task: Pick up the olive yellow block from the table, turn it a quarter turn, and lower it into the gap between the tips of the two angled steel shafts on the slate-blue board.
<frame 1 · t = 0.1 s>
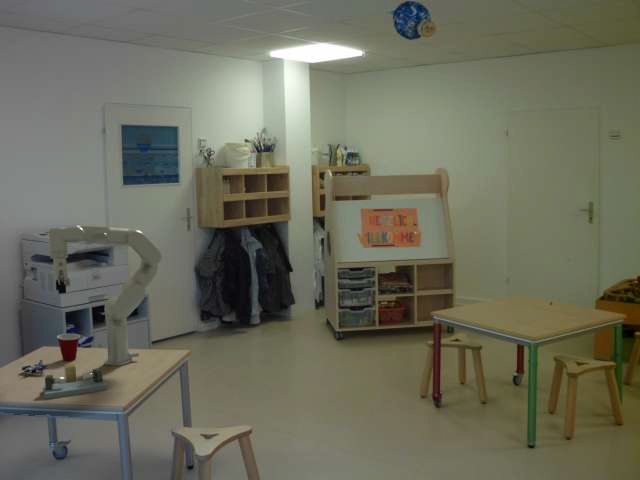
hand: (61, 291, 314), 37 cm above the table, tool pointing down, fingers open, 9 cm apart
board: (74, 390, 288), on the table
shaft 2: (83, 389, 289), resting on board
shaft 1: (66, 391, 286), resting on board
plastic cup: (70, 360, 335), on the table
olive yellow block: (70, 381, 300), on the table
toy airplane: (32, 374, 312), on the table
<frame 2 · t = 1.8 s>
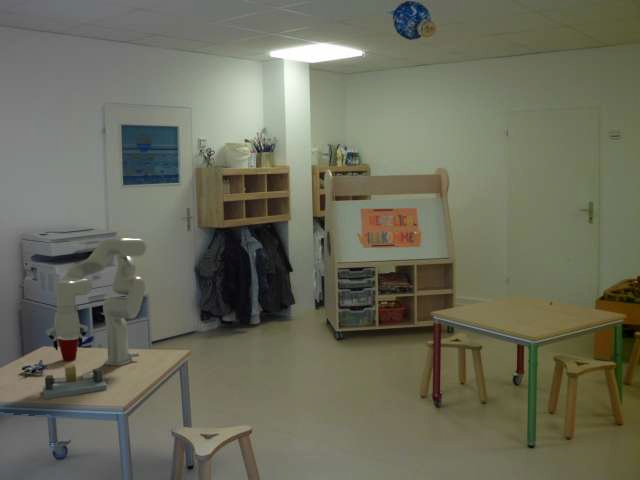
hand: (68, 348, 298), 15 cm above the table, tool pointing down, fingers open, 9 cm apart
nothing on the table moved.
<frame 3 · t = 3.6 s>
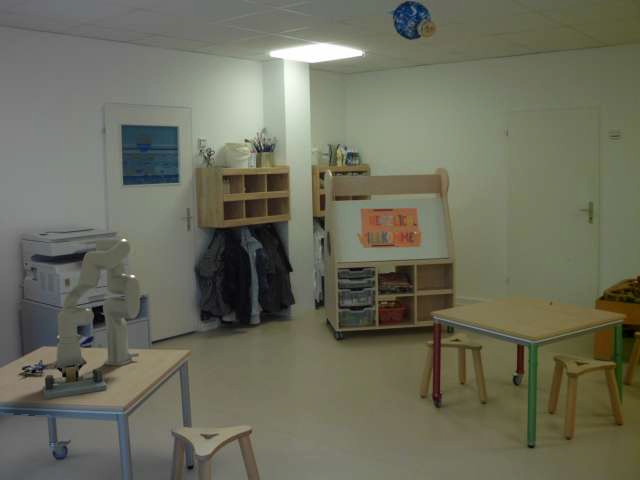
hand: (70, 380, 300), 1 cm above the table, tool pointing down, fingers closed on olive yellow block, 4 cm apart
olive yellow block: (70, 381, 300), on the table, touching gripper
everything else where it was.
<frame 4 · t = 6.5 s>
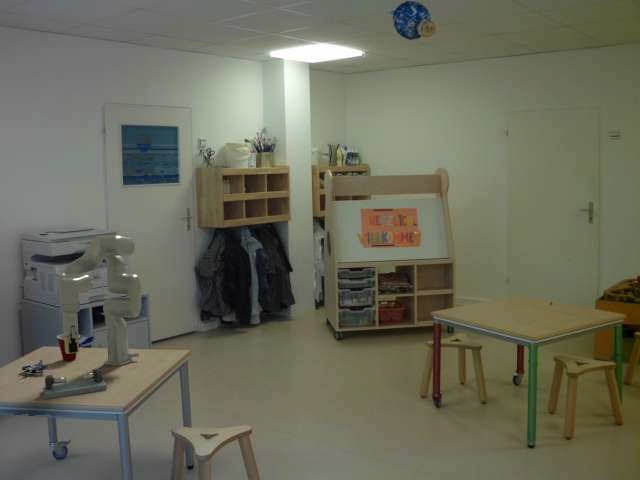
hand: (72, 350, 286), 17 cm above the table, tool pointing down, fingers closed on olive yellow block, 4 cm apart
olive yellow block: (72, 351, 286), point 17 cm above the table, touching gripper
everything else where it was.
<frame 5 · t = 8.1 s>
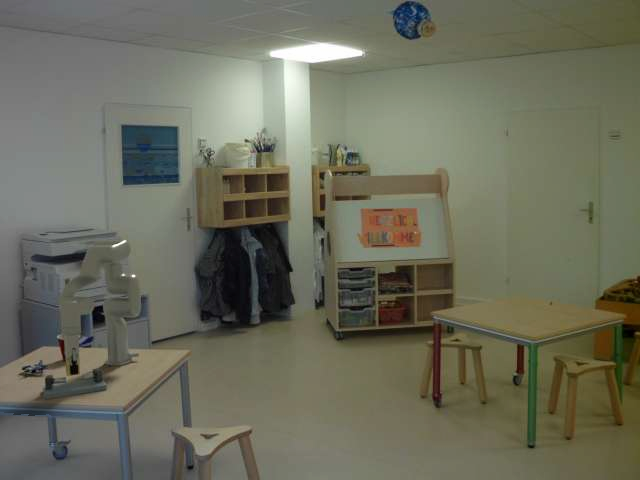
hand: (73, 372, 287), 8 cm above the table, tool pointing down, fingers closed on olive yellow block, 4 cm apart
olive yellow block: (73, 374, 287), point 7 cm above the table, touching gripper
everything else where it was.
when the fingers open (3 cm above the table, at t = 9.3 s): olive yellow block stays where it is, resting on board.
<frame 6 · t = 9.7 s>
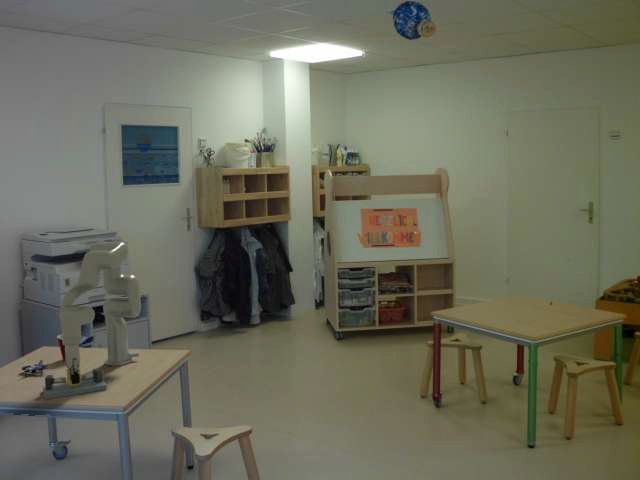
hand: (74, 380, 287), 4 cm above the table, tool pointing down, fingers open, 8 cm apart
olive yellow block: (74, 385, 288), point 2 cm above the table, touching board
everything else where it was.
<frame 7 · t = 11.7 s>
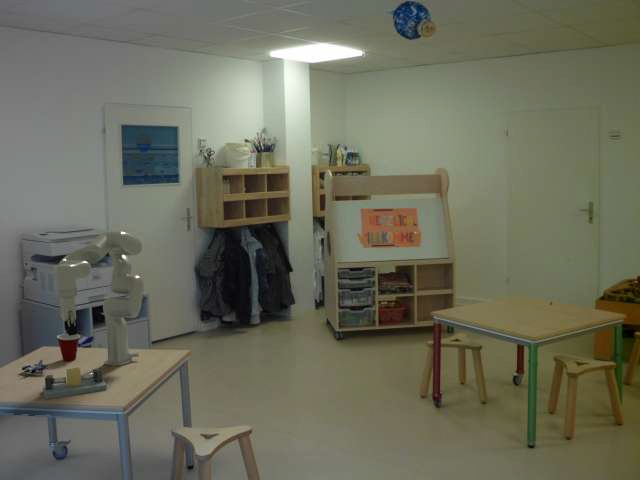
hand: (70, 332, 293), 23 cm above the table, tool pointing down, fingers open, 9 cm apart
nothing on the table moved.
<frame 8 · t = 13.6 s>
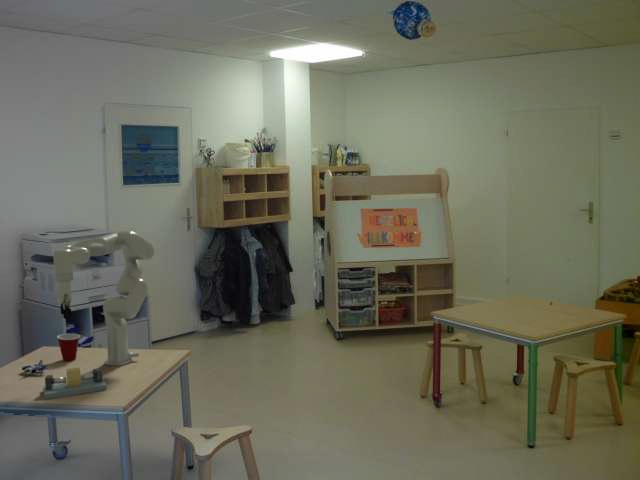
hand: (66, 316, 301), 28 cm above the table, tool pointing down, fingers open, 9 cm apart
nothing on the table moved.
at the end: olive yellow block 0.2 cm off-centre on the board, point 2.0 cm above the board's base; olive yellow block tilted 0°; the gripper is holding nothing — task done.
